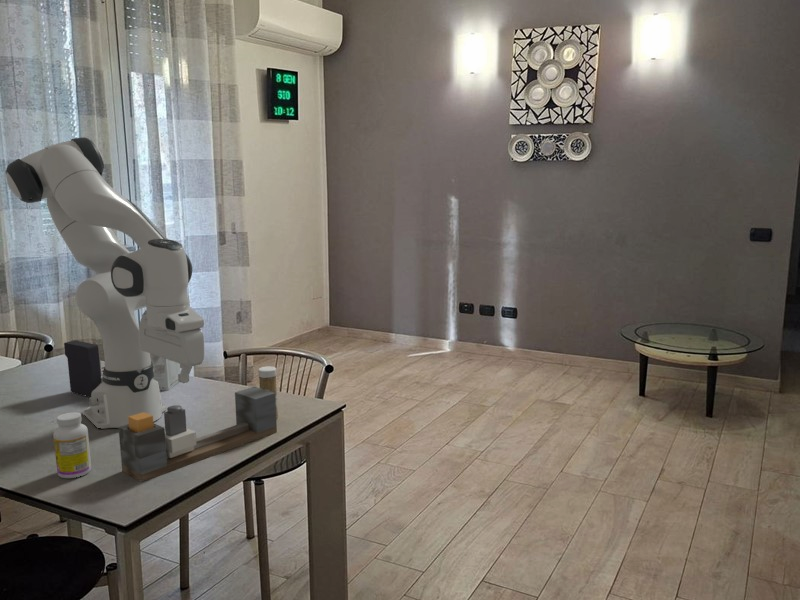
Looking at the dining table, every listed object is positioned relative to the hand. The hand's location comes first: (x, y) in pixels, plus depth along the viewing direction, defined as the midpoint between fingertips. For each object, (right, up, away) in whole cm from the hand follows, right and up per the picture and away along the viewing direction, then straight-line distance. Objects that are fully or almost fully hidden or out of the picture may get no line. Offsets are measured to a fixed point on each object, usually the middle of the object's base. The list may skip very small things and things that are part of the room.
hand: (171, 377), depth 154 cm
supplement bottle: (-20, -20, -3) cm, 28 cm away
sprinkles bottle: (+16, -14, +29) cm, 36 cm away
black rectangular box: (-40, -10, +49) cm, 64 cm away
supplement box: (-22, -9, +57) cm, 61 cm away
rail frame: (+5, -18, +9) cm, 20 cm away
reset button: (-5, -13, -4) cm, 14 cm away
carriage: (0, -17, +3) cm, 17 cm away
